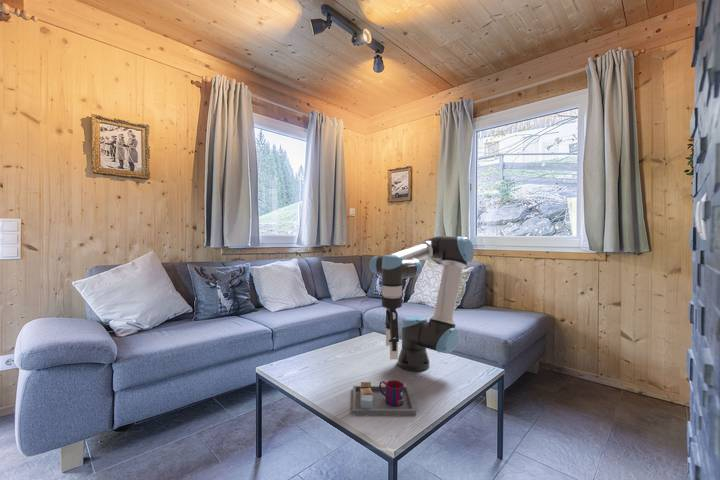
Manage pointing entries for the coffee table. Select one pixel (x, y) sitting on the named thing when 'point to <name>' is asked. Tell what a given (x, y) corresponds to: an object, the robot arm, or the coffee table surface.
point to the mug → (393, 392)
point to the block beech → (365, 392)
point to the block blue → (366, 401)
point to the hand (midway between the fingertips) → (391, 351)
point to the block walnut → (365, 385)
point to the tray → (382, 403)
